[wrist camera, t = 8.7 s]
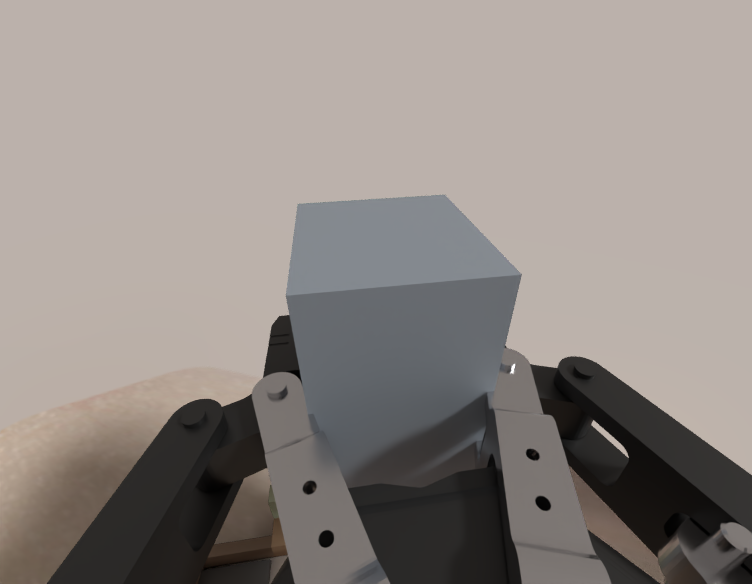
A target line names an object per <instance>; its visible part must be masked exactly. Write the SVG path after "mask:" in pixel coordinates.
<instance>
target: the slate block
mask: <svg viewBox="0 0 752 584" xmlns="http://www.w3.org/2000/svg"><path fill="white" fill-rule="evenodd" d="M521 275H522V274H520V272H519V271H518V270H517V269H516V268H515V267H514V266H513V265H512V264H511V263H510V262H509V261H508V260H507V259H506V258H505V257H504V256H503V255H502V254H501V253H500V252H499V251H498V250H497V248H496V247H495V246H494V245H493V244H492V243H491V242H490V241H489V240H488V239H487V238H486V237H485V236H484V235H483V234H482V233H481V232H480V231H479V230H478V229H477V228H476V227H475V226H474V225H473V224H472V223H471V221H469V219H468V218H467V217H466V216H465V215H464V214H463V213H462V212H461V211H460V210H459V209H458V208H457V207H456V206H455V205H454V204H453V203H452V202H451V201H450V200H449V199H448V198H447V197H446V196H445V195H433V196H417V197H403V198H386V199H369V200H354V201H337V202H323V203H306V204H298V206H297V215H296V222H295V230H294V237H293V245H292V254H291V260H290V269H289V276H288V283H287V291H286V299H287V304H288V309H289V315H290V320H291V326H292V331H293V337H294V342H295V348H296V353H297V358H298V364H299V369H300V375H301V380H302V385H303V391H304V396H305V402H306V407H307V413H308V414H314V416H315V419H316V421H317V424H318V426H319V429H320V431H322V430H323V431H324V433H325V435H326V437H327V439H328V442H329V444H330V446H331V449H332V451H333V454H334V456H335V458H336V461H337V463H338V466H339V468H340V471H341V473H342V475H343V478H344V480H345V483H346V485H347V487H348V488H353V487H359V486H366V485H373V484H379V483H382V484H391V485H400V486H409V487H419V488H421V487H425V486H428V485H430V484H432V483H434V482H436V481H439V480H441V479H443V478H445V477H447V476H450V475H452V474H454V473H456V472H460V471H466V470H473V469H475V457H474V449H475V445H476V441H480V440H483V437H484V433H485V429H486V416H485V406H484V403H485V399H486V394H487V392H490V391H494V390H495V386H496V382H497V378H498V373H499V369H500V365H501V361H502V356H503V352H504V348H505V344H506V339H507V335H508V331H509V326H510V322H511V318H512V314H513V310H514V305H515V301H516V297H517V292H518V288H519V284H520V280H521Z"/></svg>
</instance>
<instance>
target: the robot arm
mask: <svg viewBox="0 0 752 584" xmlns="http://www.w3.org/2000/svg"><path fill="white" fill-rule="evenodd" d="M484 406H485V416H486V429H485V433H484V437H483V440H480V441H476V445H475V449H474V457H475V469H473V470H466V471H460V472H456V473H454V474H452V475H450V476H447V477H445V478H443V479H441V480H439V481H436V482H434V483H432V484H430V485H428V486H425V487H421V488H419V487H409V486H400V485H391V484H382V483H379V484H373V485H366V486H359V487H353V488H348V487H347V485H346V483H345V480H344V478H343V475H342V473H341V471H340V468H339V466H338V463H337V461H336V458H335V456H334V454H333V451H332V449H331V446H330V444H329V442H328V439H327V437H326V435H325V433H324V431H323V430H322V431H320V429H319V426H318V424H317V421H316V419H315V416H314V414H308V413H307V407H306V402H305V396H304V391H303V385H302V380H301V375H300V369H299V364H298V358H297V353H296V348H295V342H294V337H293V331H292V326H291V320H290V315H287V316H279V317H278V318H277V320H276V321H275V322H274V323H273V325H272V327H271V334H270V340H269V347H268V352H267V357H266V363H265V369H264V376H263V378H262V379H261V380H260V381H259V382H258V383H257V384H256V385H255V387H254V388H253V391H252V394H250V395H249V396H248V397H246V398H244V399H242V400H239V401H237V402H234V403H232V404H229V405H226V406H224V407H221V405H220V404H219V403H218V402H217V401H215V400H211V399H200V400H195V401H192V402H190V403H188V404H186V405H184V406H182V407H181V408H180V409H178V410H177V411H176V412H175V413H174V414H173V415H172V416H171V417H170V419H169V420H168V422H167V423H166V424H165V426H164V427H163V428H162V430H161V431H160V432H159V434H158V435H157V436H156V438H155V439H154V440H153V442H152V443H151V444H150V446H149V447H148V448H147V450H146V451H145V452H144V454H143V455H142V456H141V458H140V459H139V460H138V462H137V463H136V465H135V466H134V467H133V469H132V470H131V471H130V473H129V474H128V475H127V477H126V478H125V479H124V481H123V482H122V483H121V485H120V486H119V487H118V489H117V490H116V491H115V493H114V494H113V495H112V497H111V498H110V499H109V501H108V502H107V503H106V505H105V506H104V507H103V509H102V510H101V512H100V513H99V514H98V516H97V517H96V518H95V520H94V521H93V522H92V524H91V525H90V526H89V528H88V529H87V530H86V532H85V533H84V534H83V536H82V537H81V538H80V540H79V541H78V542H77V544H76V545H75V546H74V548H73V549H72V550H71V552H70V553H69V555H68V556H67V557H66V559H65V560H64V561H63V563H62V564H61V565H60V567H59V568H58V569H57V571H56V572H55V573H54V575H53V576H52V577H51V579H50V580H49V581H48V583H47V584H196V582H197V580H198V577H199V575H200V573H201V571H202V569H203V567H204V564H205V562H206V560H207V558H208V556H209V554H210V551H211V549H212V547H213V545H214V543H215V541H216V538H217V536H218V534H219V532H220V530H221V527H222V525H223V523H224V521H225V519H226V517H227V514H228V512H229V510H230V508H231V506H232V504H233V501H234V499H235V497H236V495H237V493H238V491H239V488H240V486H241V484H242V482H243V479H244V478H245V477H248V476H250V475H252V474H254V473H256V472H259V471H261V470H263V469H265V468H268V472H269V476H270V481H271V485H272V489H273V493H274V498H275V502H276V506H277V510H278V515H279V519H280V523H281V527H282V532H283V536H284V540H285V544H286V549H287V553H288V557H287V559H286V560H285V562H284V564H283V565H282V567H281V568H280V570H279V572H278V573H277V575H276V576H275V578H274V579H273V581H272V583H271V584H660V583H659V582H657V581H656V580H655V579H653V578H652V577H651V576H649V575H648V574H647V573H645V572H644V571H642V570H641V569H640V568H638V567H637V566H636V565H634V564H633V563H632V562H630V561H629V560H628V559H626V558H625V557H624V556H622V555H621V554H620V553H618V552H617V551H616V550H614V549H613V548H612V547H610V546H609V545H608V544H606V543H605V542H604V541H602V540H601V539H600V538H598V537H597V536H596V535H594V534H593V533H592V532H590V531H589V530H588V529H587V527H586V523H585V520H584V517H583V513H582V510H581V507H580V503H579V500H578V496H577V493H576V490H575V486H574V483H573V480H572V476H571V473H570V469H569V466H570V467H571V468H572V469H573V470H574V471H575V472H576V473H577V474H578V475H579V476H580V477H581V478H582V479H583V480H584V481H585V482H586V483H587V484H588V485H589V486H590V488H591V489H592V490H593V491H594V492H595V493H596V494H597V495H598V496H599V497H600V498H601V499H602V500H603V501H604V502H605V503H606V504H607V505H608V506H609V507H610V508H611V509H612V510H613V512H614V513H615V514H616V515H617V516H618V517H619V518H620V519H621V520H622V521H623V522H624V523H625V524H626V525H627V526H628V527H629V528H630V529H631V530H632V531H633V532H634V533H635V535H636V536H637V537H638V538H639V539H640V540H641V541H642V542H643V543H644V544H645V545H646V546H647V547H648V548H649V549H650V550H651V551H652V552H653V553H654V554H655V555H656V556H657V557H658V561H659V565H660V568H661V570H662V572H663V574H664V576H665V584H752V475H751V474H749V473H748V472H746V471H745V470H744V469H742V468H741V467H740V466H738V465H737V464H735V463H734V462H733V461H731V460H730V459H728V458H727V457H726V456H724V455H723V454H722V453H720V452H719V451H718V450H716V449H715V448H713V447H712V446H710V445H709V444H708V443H706V442H705V441H704V440H702V439H701V438H700V437H698V436H697V435H696V434H694V433H693V432H691V431H690V430H689V429H687V428H686V427H684V426H683V425H682V424H680V423H679V422H678V421H676V420H675V419H673V418H672V417H671V416H669V415H668V414H667V413H665V412H664V411H662V410H661V409H660V408H658V407H657V406H656V405H654V404H653V403H651V402H650V401H649V400H647V399H646V398H645V397H643V396H642V395H640V394H639V393H638V392H636V391H635V390H633V389H632V388H631V387H629V386H628V385H627V384H625V383H624V382H622V381H621V380H620V379H618V378H617V377H616V376H614V375H613V374H611V373H610V372H609V371H607V370H606V369H604V368H603V367H602V366H600V365H599V364H597V363H595V362H593V361H591V360H589V359H586V358H582V357H567V358H564V359H562V360H561V361H560V363H559V365H558V368H552V367H544V366H537V365H532V364H530V363H529V361H528V360H527V359H526V358H525V357H524V356H523V355H522V354H520V353H519V352H517V351H515V350H512V349H508V348H506V346H505V348H504V352H503V356H502V361H501V365H500V369H499V373H498V378H497V382H496V386H495V390H494V391H490V392H487V394H486V399H485V403H484ZM593 420H594V421H596V422H597V423H598V424H599V425H600V426H601V427H602V428H604V429H605V430H606V431H607V432H608V433H609V434H610V435H612V436H613V437H614V438H615V439H616V440H617V441H618V442H620V443H621V444H622V445H623V446H624V448H625V449H626V451H627V453H628V456H629V458H628V457H626V456H625V455H624V454H623V453H622V452H621V451H620V450H619V449H617V448H616V447H615V446H614V445H613V444H612V443H611V442H609V441H608V440H607V439H606V438H605V437H604V436H603V435H602V434H601V433H599V432H598V431H597V430H596V429H595V428H594V427H593V426H591V423H592V421H593ZM568 465H569V466H568Z"/></svg>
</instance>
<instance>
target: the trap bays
mask: <svg viewBox="0 0 752 584" xmlns="http://www.w3.org/2000/svg"><path fill="white" fill-rule="evenodd" d="M271 544H272V536H265V537H259V538H253V539H246V540H240V541H234V542H228V543H221V544H215V545H213V547H212V549H211V551H210V554H209V556H208V558H207V560H206V562H205V564H204V567H203V569H204V568H210V567H216V566H222V565H228V564H234V563H240V562H246V561H253V560H259V559H265V558H271V557H275V556H274V553H273V551H272V548H271ZM270 567H271V560H270V559H268V560H262V561H256V562H250V563H244V564H238V565H232V566H226V567H220V568H214V569H208V570H203V569H202V571H201V573H200V575H199V577H198V580H197V582H196V584H269V578H270Z"/></svg>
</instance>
